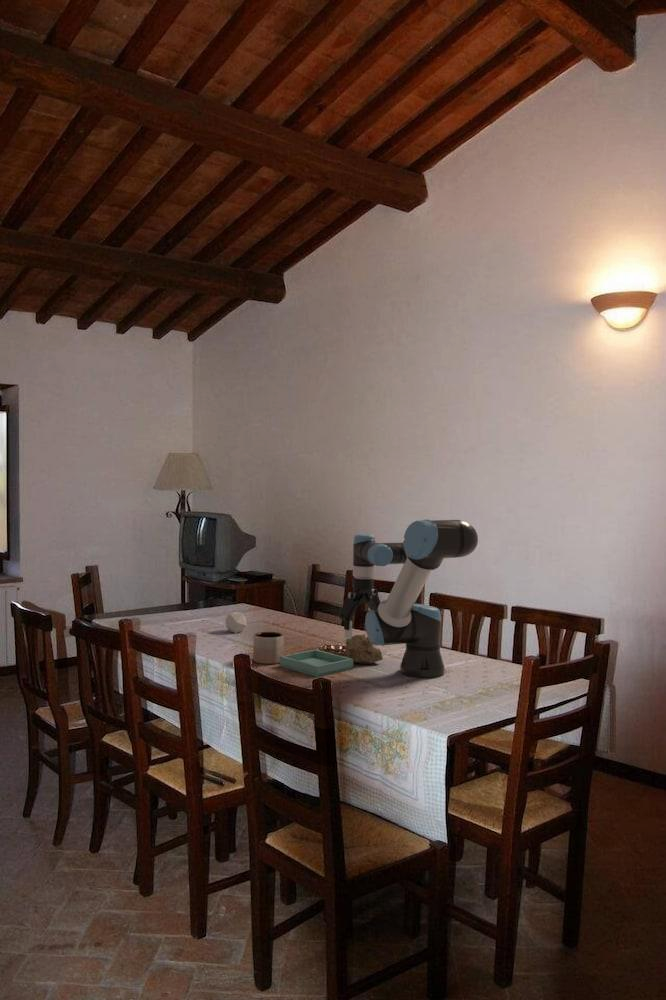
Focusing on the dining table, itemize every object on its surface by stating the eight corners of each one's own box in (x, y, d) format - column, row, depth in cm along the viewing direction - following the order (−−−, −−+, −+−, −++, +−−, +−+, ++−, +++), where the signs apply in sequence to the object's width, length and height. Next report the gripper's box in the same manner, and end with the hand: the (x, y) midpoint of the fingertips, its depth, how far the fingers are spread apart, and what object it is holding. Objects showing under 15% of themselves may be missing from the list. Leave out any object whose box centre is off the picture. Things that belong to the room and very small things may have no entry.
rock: (350, 650, 291) (371, 633, 294) (334, 646, 302) (354, 629, 306) (365, 675, 293) (386, 658, 297) (349, 670, 304) (369, 653, 308)
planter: (271, 666, 290) (272, 639, 290) (246, 661, 296) (247, 635, 296) (289, 660, 300) (290, 634, 299) (265, 656, 305) (265, 630, 305)
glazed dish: (353, 669, 289) (353, 659, 289) (317, 677, 277) (317, 666, 277) (315, 658, 302) (315, 649, 302) (279, 666, 290) (279, 656, 290)
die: (250, 634, 346) (250, 612, 351) (239, 626, 339) (238, 604, 345) (233, 639, 349) (233, 618, 354) (221, 632, 342) (221, 610, 348)
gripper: (378, 573, 310) (377, 629, 311) (330, 579, 292) (329, 639, 294) (394, 575, 305) (392, 633, 306) (346, 581, 287) (344, 642, 288)
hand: (361, 636), depth 300 cm, fingers open, 13 cm apart
